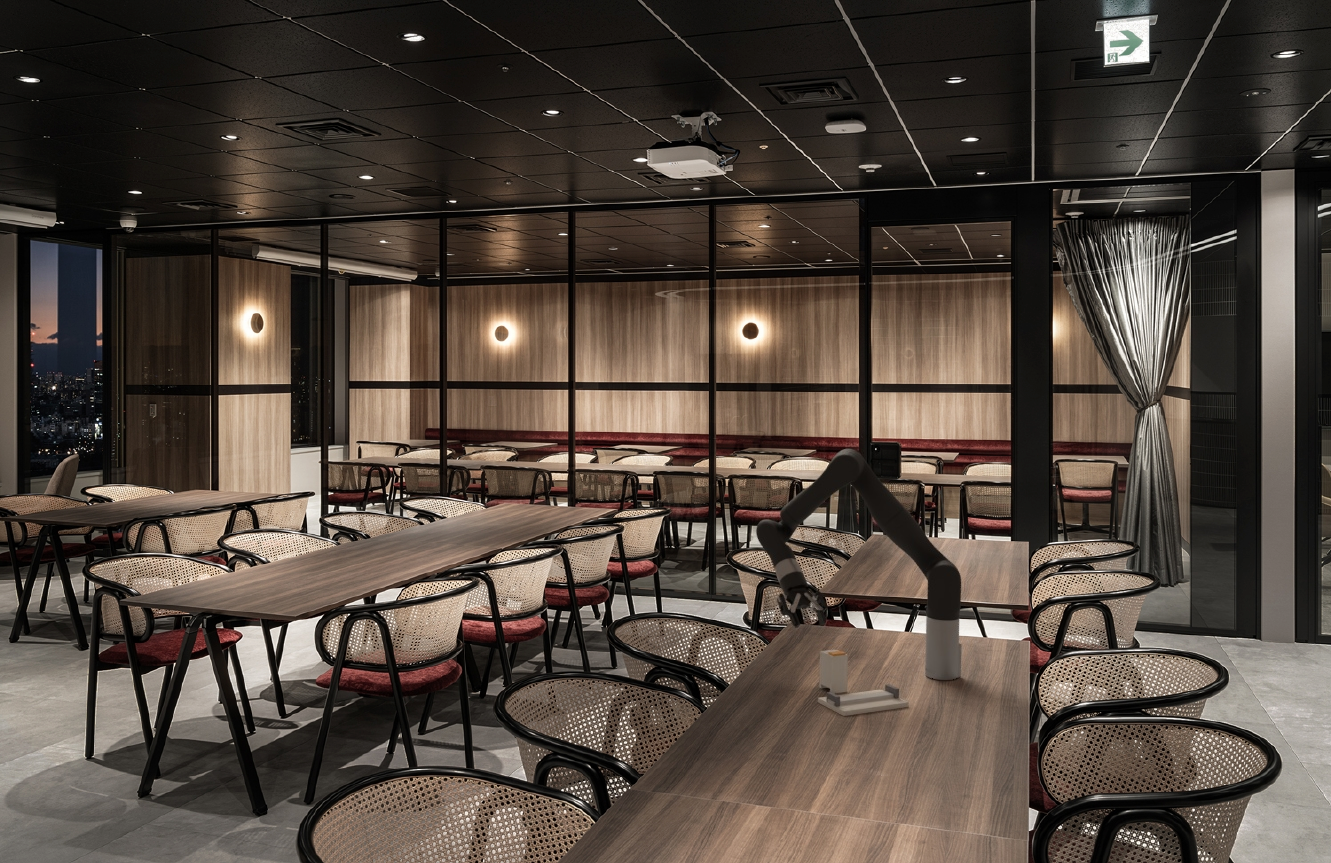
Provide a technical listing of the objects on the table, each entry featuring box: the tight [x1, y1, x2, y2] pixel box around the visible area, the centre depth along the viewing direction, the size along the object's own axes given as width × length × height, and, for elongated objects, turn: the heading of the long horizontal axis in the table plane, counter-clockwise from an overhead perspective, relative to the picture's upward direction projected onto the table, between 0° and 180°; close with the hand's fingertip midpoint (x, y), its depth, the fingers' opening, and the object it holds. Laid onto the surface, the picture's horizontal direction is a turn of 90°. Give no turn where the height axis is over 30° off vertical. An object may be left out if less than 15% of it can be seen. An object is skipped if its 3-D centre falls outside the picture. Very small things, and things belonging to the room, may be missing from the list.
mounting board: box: [817, 683, 910, 717], centre depth 264 cm, size 20×12×4 cm, turn 114°
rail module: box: [818, 649, 849, 694], centre depth 277 cm, size 5×6×11 cm
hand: (810, 625), depth 287 cm, fingers open, 8 cm apart
